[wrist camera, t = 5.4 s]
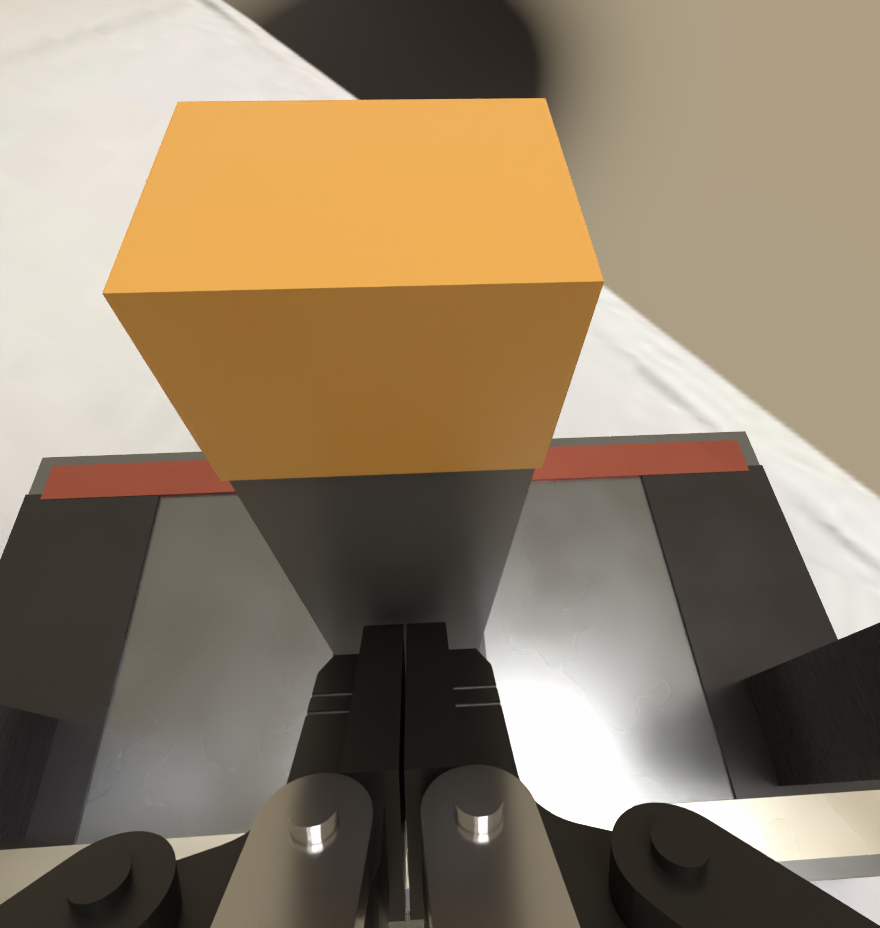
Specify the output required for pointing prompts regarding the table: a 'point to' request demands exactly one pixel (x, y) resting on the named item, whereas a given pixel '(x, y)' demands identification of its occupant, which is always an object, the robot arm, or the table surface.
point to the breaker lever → (366, 334)
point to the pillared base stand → (503, 644)
